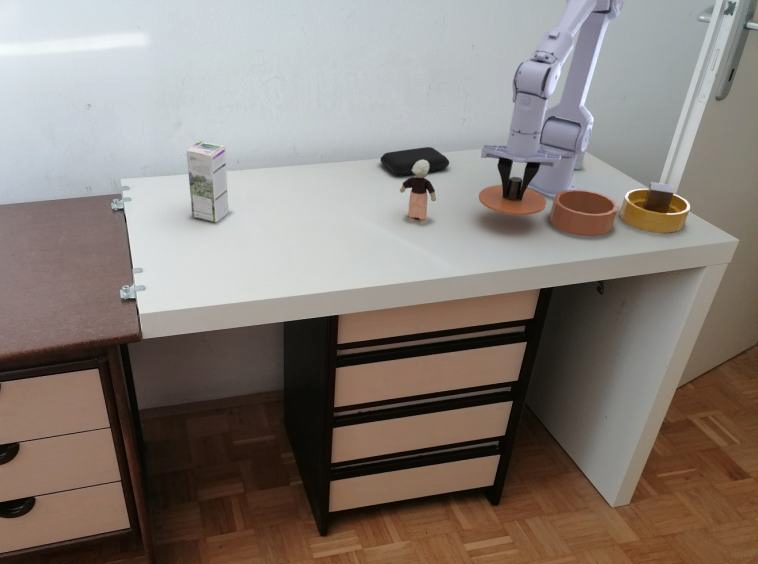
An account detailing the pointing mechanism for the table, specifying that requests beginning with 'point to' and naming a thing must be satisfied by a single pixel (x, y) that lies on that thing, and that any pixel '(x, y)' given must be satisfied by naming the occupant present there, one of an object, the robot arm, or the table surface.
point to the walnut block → (658, 197)
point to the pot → (583, 223)
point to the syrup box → (208, 181)
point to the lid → (512, 199)
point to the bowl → (653, 213)
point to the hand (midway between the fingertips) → (512, 196)
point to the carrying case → (413, 160)
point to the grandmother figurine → (419, 191)
